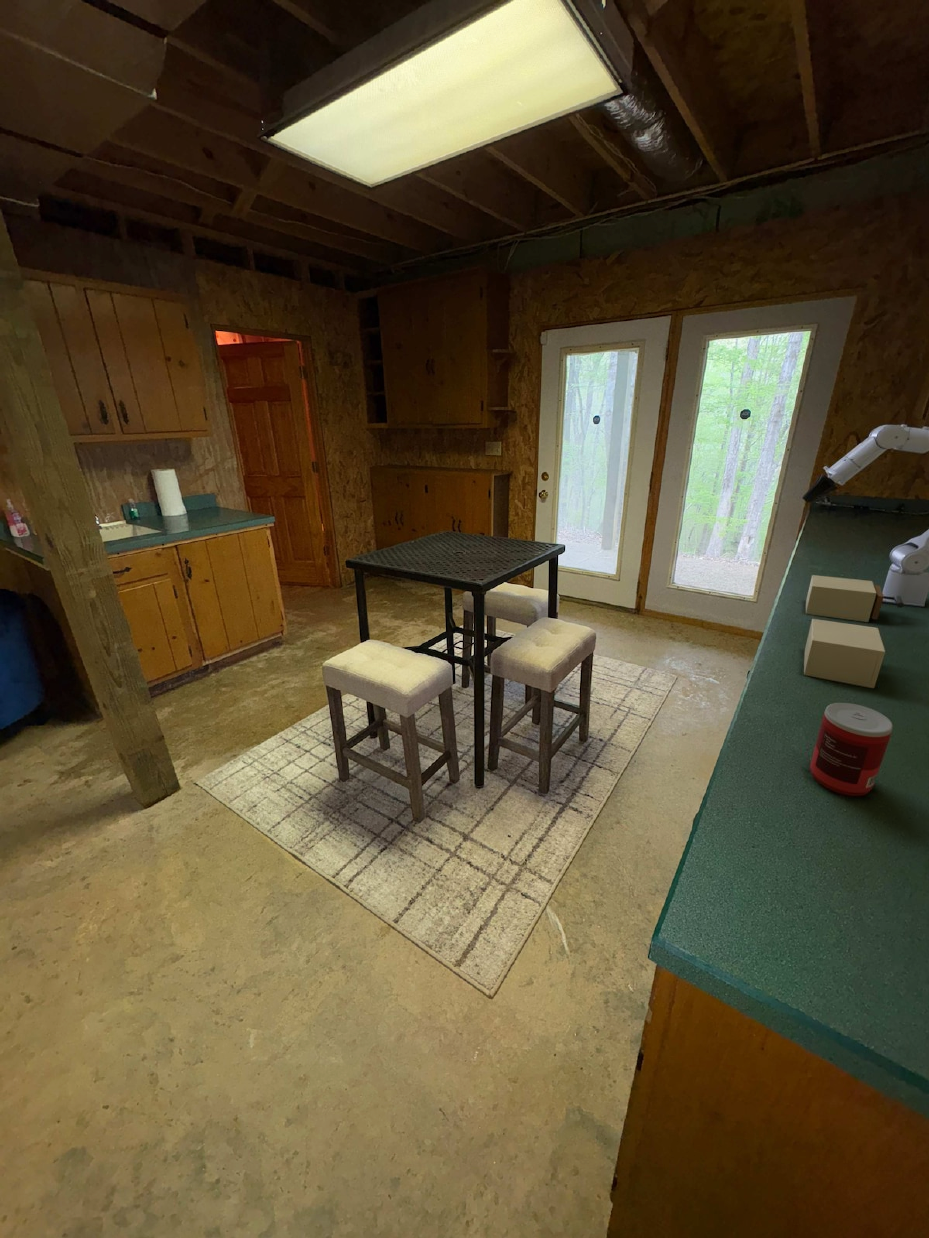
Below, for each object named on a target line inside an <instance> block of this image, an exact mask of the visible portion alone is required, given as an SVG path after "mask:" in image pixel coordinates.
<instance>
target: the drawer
mask: <svg viewBox="0 0 929 1238" xmlns="http://www.w3.org/2000/svg"><path fill="white" fill-rule="evenodd" d="M873 585H874V588H875V590H876V597H875V600H874V604H873V607H872V611H871V614H870V619H872V620H878V618H879V615H880V611H881V608H882V605H889V606H896V607H897V608H904V606H905V604H904V603H903V601H902V599H901V597H900V596H895V597H889V596H883V593H882V592H883V590H882V589H881V586H880V585H876V584H873ZM883 599H892V600H895V602H896V603H895V602H887V601H883Z"/></svg>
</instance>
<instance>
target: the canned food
mask: <svg viewBox="0 0 929 1238" xmlns="http://www.w3.org/2000/svg"><path fill="white" fill-rule="evenodd" d="M892 733H893V723H892V721H891V720H890V719H889V718H888V717H887V716H885V715H884V714H883V713H881V712H879V711H877V710H875V709H872V708H870V707H867V706H864V705H860V704H855V703H851V702H850V703H849V702H835V703H831V704H828V705H827V706H826V707H825V710H824V713H823V717H822V720H821V723H820V727H819V731H818V735H817V739H816V743H815V747H814V750H813V753H812V757H811V761H810V765H809V767H810V773H811V775H812V777H813V779H814V780H815V781H816V782H817V783H818V784H820V785H821V786H823V787H824V788H826V789H828V790H830V791H832V792H834V793H838V794H839V795H843V796H849V797H860V796H861V797H862V796H865V795H867V794H868V793H869V792H870V791H871V790H872V789H873V788H874V786H875V782H876V780H877V777H878V773H879V771H880V768H881V765H882V762H883V759H884V756H885V753H886V750H887V747H888V745H889V742H890V739H891V735H892Z"/></svg>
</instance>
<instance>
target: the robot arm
mask: <svg viewBox="0 0 929 1238" xmlns="http://www.w3.org/2000/svg"><path fill="white" fill-rule="evenodd" d="M891 449H893V450H896V451H902V452H909V453H917V454H925V453H927V452H929V426H923V427H921V428H918V427H910V426H908V425H907V424H883V425H879V426H877V427H876V428H873V429H872V430H871V431H870V433H869V435H868V437H867V438H865V439H864V440H863V441H862V442H860V443H859V444H858V445H856V446H855V447H854V448H852V449H851V450H850V451H849V452H848V453H847V454H846V453H845V455H844V456H843V457H842V458H840V459H839V460H838V461H836V462H835V463H834V464H833V465H832V466H830V467H828V466H827V465H825V466H824V467H823V470H825V472H826V474H827V475H826V474H825V473H822V474H821V476H820V475H819V476H817V479H816V480H815V482H814V483H813V485H812V486H811V487H810V488H809V489H808V490H807V492H806V493H804V495H803V496H802V497H801V499H802V500H803V501H805V503H812V502H814V501H816V500H817V499H819V498H821V497H823V496H825V495H826V494H829V493H831V492H834V491H837V490H839V488H838V486H837V485H836V484H839V485H840V486H844V485H845V484H846V482H848V481H849V480H850V479H852V478H853V477H854V476H856V474H858V473H860V472H861V471H862V470H863V469H864V468H866V467H867V466H868V465H870V464H871V463H873V461H875V460H876V459H877V458H878V457H879V456H880V455H882V454H883V453H885V452H886V451H887V450H891ZM889 560H890V561H891V565H890V566H889V569H888V571H887V575H886V580H885V582H884V585H883V588H882V593H883V596H889V597H895V596H900V597H901V599H902V601H903V603H904V606H905V605H906V606H915V607H925V606H926V605H925V604H926V601H927V598H928V594H929V572H925V570H927V569H928V568H929V528H928V529H927V530H926V531H924V532H923V533H922V534H921V535H918V536H915V537H913V538H910V539H909V540H908V541H906V542H904V543H902V544H899V545H897V546H895V547H894V548H892V550H891V551H890V553H889ZM883 601H887V602H895V600H892V599H883ZM895 603H896V602H895Z"/></svg>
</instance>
